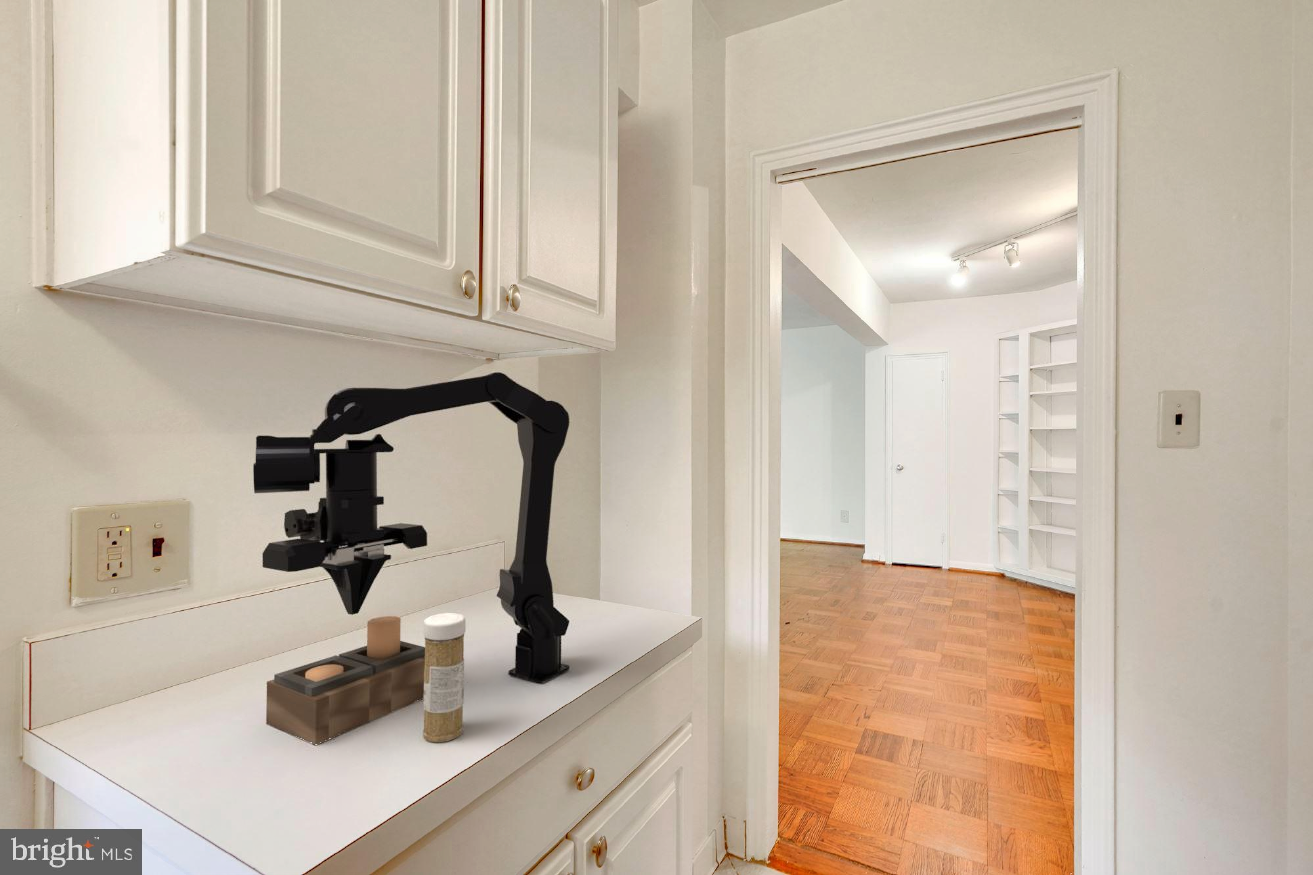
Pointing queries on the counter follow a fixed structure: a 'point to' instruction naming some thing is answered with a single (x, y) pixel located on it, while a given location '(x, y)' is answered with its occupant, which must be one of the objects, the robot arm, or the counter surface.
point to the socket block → (345, 693)
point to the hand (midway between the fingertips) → (352, 613)
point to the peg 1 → (323, 672)
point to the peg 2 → (383, 637)
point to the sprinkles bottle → (443, 676)
